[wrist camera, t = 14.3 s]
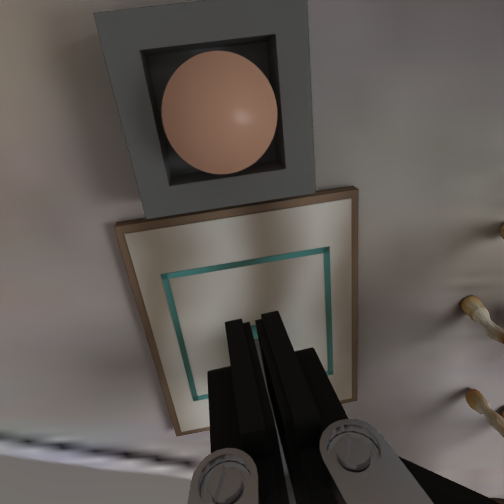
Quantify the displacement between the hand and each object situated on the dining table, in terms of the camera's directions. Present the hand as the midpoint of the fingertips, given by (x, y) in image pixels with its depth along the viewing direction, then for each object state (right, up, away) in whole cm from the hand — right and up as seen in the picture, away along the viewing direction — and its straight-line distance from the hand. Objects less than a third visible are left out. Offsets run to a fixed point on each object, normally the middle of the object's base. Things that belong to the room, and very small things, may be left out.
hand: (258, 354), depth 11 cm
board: (0, -2, +15) cm, 15 cm away
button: (-2, +10, +7) cm, 12 cm away
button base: (-2, +11, +9) cm, 14 cm away
